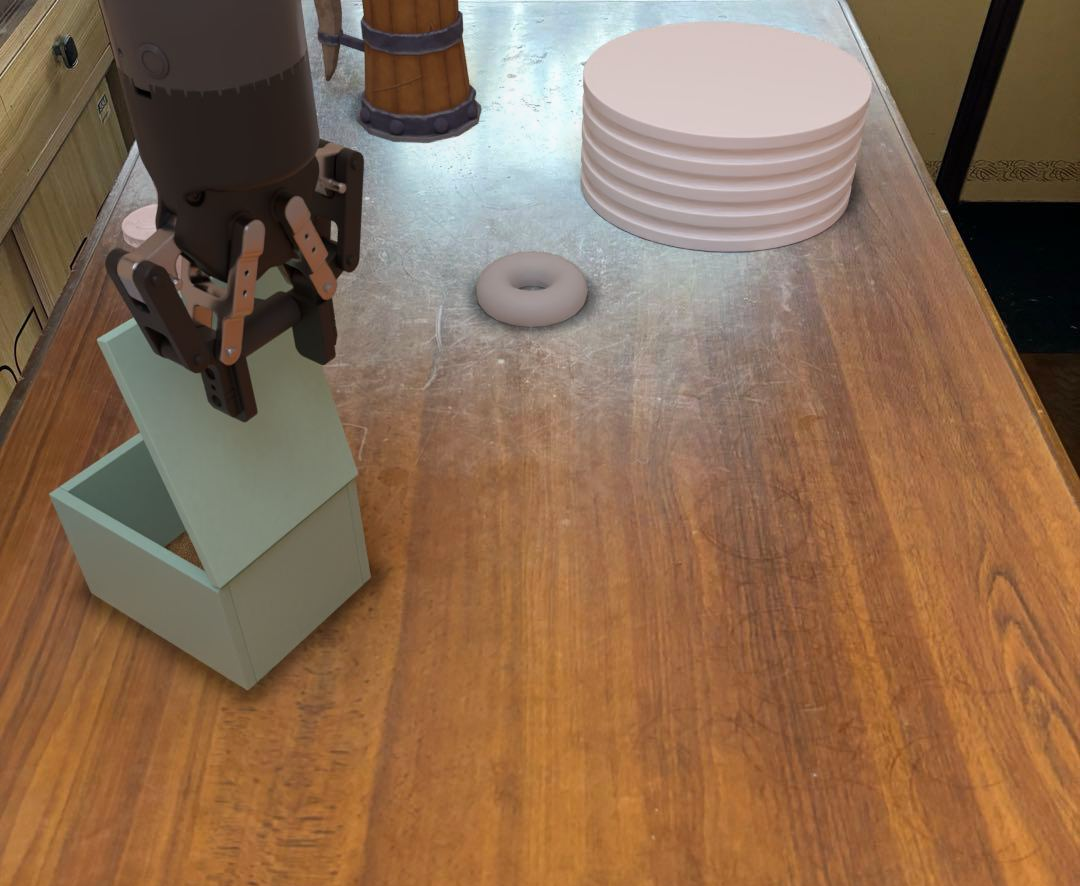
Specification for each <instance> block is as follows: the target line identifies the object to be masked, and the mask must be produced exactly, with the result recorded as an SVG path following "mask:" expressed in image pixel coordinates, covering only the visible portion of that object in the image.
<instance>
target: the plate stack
mask: <svg viewBox="0 0 1080 886" xmlns="http://www.w3.org/2000/svg"><path fill="white" fill-rule="evenodd" d="M582 73H583V74H582V89H583V93H582V108H581V109H582V111H581V112H582V121H581V141H582V142H581V151H580V152H581V154H580V160H581V161H580V162H581V167H580V188H581V192H582V195H583V197H584V199H585V200H586V202H587V204H588V205H589V206H590V207H591V208H592V209H593V210H594V211H595V212H596V214H597V215H599V216H600V217H601V218H602V219H604V220H606V221H607V222H608V223H610V224H612V225H613V226H615V227H617V228H619V229H621V230H623V231H625V232H627V233H628V234H631V235H634V236H636V237H638V238H641V239H644V240H647V241H651V242H654V243H658V244H661V245H666V246H671V247H675V248H681V249H686V250H694V251H702V252H703V251H704V252H715V253H716V252H718V253H726V252H727V253H738V252H739V253H741V252H754V251H755V252H756V251H764V250H771V249H776V248H781V247H782V248H783V247H785V246H789V245H793V244H796V243H799V242H802V241H803V242H804V241H805V240H807V239H810V238H813V237H814V236H817V235H819V234H821V233H822V232H824V231H826V230H827V229H829V228H830V227H832V226H833V225H834V224H836V222H837V221H839V220H840V218H841V217H842V216H843V214H844V213H845V211H847V208H848V205H849V202H850V196H851V192H852V184H853V181H854V177H855V173H856V167H857V159H858V158H859V153H860V149H861V144H862V135H863V133H864V129H865V126H866V120H867V115H868V114H867V112H868V111H867V110H868V107H869V105H870V101H871V96H872V91H873V82H872V77H871V76H870V74H869V72H868V70H867V69H866V67H865V66H864V65H863V64H862V63H861V62H860V61H859V60H858V59H857V58H855V57H854V56H853V55H851V53H849V52H847V51H845V50H844V49H842V48H840V47H839V46H836V45H834V44H833V43H830V42H827V41H825V40H823V39H820V38H816V37H814V36H812V35H809V34H805V33H801V32H797V31H794V30H790V29H785V28H781V27H775V26H771V25H764V24H755V23H746V22H736V21H733V22H732V21H690V22H679V23H670V24H669V23H668V24H663V25H657V26H656V25H655V26H651V27H646V28H642V29H638V30H635V31H632V32H628V33H626V34H623V35H621V36H617V37H615V38H613V39H611V40H609V41H608V42H606V43H604V44H603V45H601V46H599V47H598V48H597V49H596V50H595V51H593V53H591V54H590V56H589V57H588V59H587V60H586V62H585V63H584V68H583V72H582Z"/></svg>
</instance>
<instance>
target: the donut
mask: <svg viewBox="0 0 1080 886" xmlns="http://www.w3.org/2000/svg"><path fill="white" fill-rule="evenodd" d="M475 286H476V288H475V290H476V291H475V292H476V298H477V302H478V304H479V306H480V307H481V309H482V310H483V312H485V314H486V315H488V316H490V317H491V318H493V319H495V320H496V321H497V322H500V323H504V324H507V325H510V326H516V327H524V328H538V327H540V328H541V327H548V326H552V325H556V324H560V323H563V322H565V321H567V320H568V319H571V318H572V317H574V316H576V315H577V314H578V313H579V312H580V311H581V310H582V309H583V307H584V306H585V303H586V300H587V298H588V294H589V288H588V283H587V280H586V276H585V274H584V273H583V271H582V270H581V269H580V268H579V267H578V266H577V265H576V264H575V263H574V262H573V261H570V260H569V259H567V258H565V257H563V256H561V255H558V254H555V253H551V252H544V251H537V250H535V251H534V250H533V251H518V252H514V253H511V254H510V253H509V254H506V255H504V256H501V257H499V258H497V259H495V260H493V261H492V262H491V263H489V264H488V265H487V266H486V267H485V268H484V269H483V270H482V271H481V274H480V275H479V277H478V280H477V282H476V285H475ZM526 287H540V288H541V289H533V290H528V289H521V288H526Z"/></svg>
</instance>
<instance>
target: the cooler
mask: <svg viewBox="0 0 1080 886" xmlns="http://www.w3.org/2000/svg"><path fill="white" fill-rule="evenodd" d="M48 495H49V499H50V500H51V502H52V506H53V507H54V509H55V512H56V514H57V517H58V519H59V521H60V524H61V526H62V529H63V530H64V533H65V535H66V538H67V541H68V542H69V545H70V547H71V549H72V553H73V554H74V557H75V559H76V561H77V563H78V566H79V568H80V570H81V573H82V575H83V578H84V579H85V583H86V585H87V587H88V589H89V591H90V594H92V595H94V596H95V597H97V598H98V599H100V600H101V601H103V602H105V603H106V604H108V605H109V606H111V607H113V608H115V610H117V611H118V612H121V613H122V614H124V615H126V616H127V617H129V618H130V619H132V620H134V621H135V622H137V623H139V624H140V625H141V626H143V627H145V628H146V629H148V630H150V631H151V632H153V633H154V634H156V635H158V636H159V637H161V638H162V639H163V640H165V641H168V642H169V643H171V644H172V645H174V646H176V647H177V648H179V650H181V651H183V652H185V653H186V654H188V655H189V656H191V657H192V658H195V659H196V660H198V661H199V662H200V663H202V664H204V665H206V666H207V667H209V668H211V670H214V671H215V672H217V673H218V674H220V675H221V676H223V677H224V678H226V679H228V680H229V681H232V682H233V683H234V684H236V685H238V686H239V687H241V688H243V689H244V690H246V691H250V690H251V689H252V688H253V687H254V686H255V685H256V684H258V682H259V681H260V680H261V679H263V678H264V677H265V676H266V675H267V674H269V672H270V671H271V670H272V669H273V668H275V667H276V666H277V665H278V664H279V663H280V662H281V661H282V660H283V659H284V658H285V657H287V656H288V655H289V653H291V652H292V651H293V650H294V649H295V648H297V646H298V645H299V644H301V643H302V642H303V641H304V640H305V639H306V638H307V637H308V636H310V634H311V633H312V632H314V631H315V630H316V629H317V628H318V627H319V626H320V625H322V623H324V622H325V621H326V620H327V619H328V618H329V617H330V616H331V615H332V614H333V613H334V612H335V611H337V610H338V609H339V608H340V607H341V606H342V605H343V604H344V603H345V602H346V601H347V600H348V599H349V598H350V597H351V596H353V595H354V594H355V593H356V592H357V591H358V590H359V589H360V588H361V587H362V586H363V585H364V584H365V583H367V582H368V581H369V580H370V579H371V578H372V574H371V569H370V563H369V555H368V549H367V544H366V543H367V542H366V537H365V532H364V526H363V525H364V524H363V519H362V513H361V506H360V500H359V494H358V488H357V481H356V477H354V478H353V479H352V480H351V481H349V482H348V483H347V484H346V485H345V486H343V487H342V488H341V489H340V490H339V491H337V492H336V493H335V494H334V495H333V496H331V497H330V498H329V499H328V500H326V501H325V502H324V503H323V504H322V505H320V506H319V507H318V508H317V509H316V510H314V511H313V512H312V513H311V514H310V515H308V516H307V517H306V518H305V519H304V520H302V521H301V522H300V523H299V524H297V525H296V526H295V527H294V528H293V529H291V530H290V531H289V532H288V533H287V534H285V535H284V536H283V537H282V538H281V539H279V540H278V541H277V542H276V543H275V544H273V545H272V546H271V547H270V548H269V549H267V550H266V551H265V552H264V553H262V554H261V555H260V556H259V557H258V558H256V559H255V560H254V561H253V562H252V563H250V564H249V565H248V566H247V567H246V568H244V569H243V570H242V571H241V572H240V573H238V574H237V575H236V576H235V577H233V578H232V579H231V580H230V581H229V582H227V583H226V584H225V585H224V586H223V587H221V588H219V587H216V586H214V585H212V584H211V582H210V580H209V578H208V576H207V574H206V571H205V569H202V568H200V567H198V566H197V565H195V564H193V563H192V562H189V561H188V560H186V559H185V558H182V557H181V556H179V555H177V554H176V553H174V552H172V551H171V550H169V549H168V548H166V546H168V545H169V544H170V543H172V542H173V541H174V540H175V539H177V538H178V537H179V536H180V535H182V534H184V532H187V531H186V529H185V527H184V525H183V523H182V520H181V518H180V516H179V514H178V512H177V510H176V508H175V506H174V503H173V501H172V499H171V497H170V495H169V493H168V491H167V489H166V486H165V484H164V482H163V480H162V478H161V476H160V474H159V472H158V469H157V467H156V465H155V463H154V461H153V459H152V457H151V455H150V452H149V450H148V448H147V446H146V444H145V442H144V440H143V438H142V436H141V433H140V432H138V433H137V434H135V435H134V436H132V437H131V438H129V439H128V440H126V441H125V442H123V443H122V444H120V445H119V446H117V447H116V448H114V449H112V450H111V451H109V453H107V454H105V455H104V456H103V457H101V458H100V459H98V460H97V461H95V462H94V463H92V464H91V465H89V466H87V467H86V468H84V469H83V470H82V471H80V472H79V473H77V474H76V475H74V476H73V477H71V478H70V479H69V480H67V481H65V482H64V483H62V484H61V485H60V486H58V487H57V488H55V489H54V490H53V491H50V492H49V493H48Z"/></svg>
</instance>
